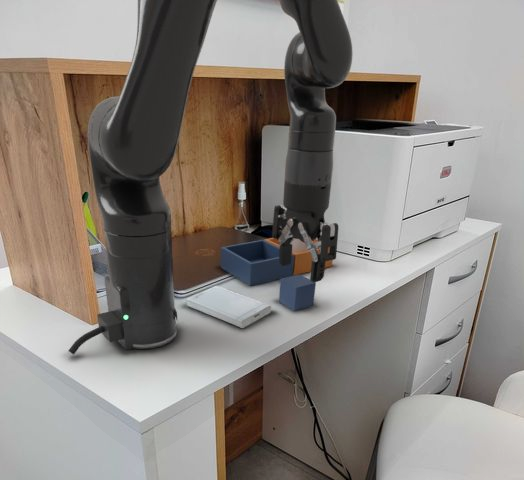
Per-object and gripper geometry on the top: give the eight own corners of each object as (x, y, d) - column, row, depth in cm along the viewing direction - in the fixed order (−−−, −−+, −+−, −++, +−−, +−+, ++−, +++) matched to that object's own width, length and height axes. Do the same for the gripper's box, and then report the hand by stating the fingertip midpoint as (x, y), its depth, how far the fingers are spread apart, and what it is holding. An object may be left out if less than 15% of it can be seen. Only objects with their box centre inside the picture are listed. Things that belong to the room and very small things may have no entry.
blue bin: (250, 285, 96) (250, 264, 94) (220, 267, 103) (221, 247, 101) (292, 275, 102) (294, 254, 99) (262, 259, 109) (263, 239, 107)
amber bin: (293, 275, 102) (295, 254, 100) (263, 259, 109) (264, 239, 107) (331, 266, 108) (334, 246, 105) (300, 251, 115) (302, 232, 112)
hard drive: (186, 298, 86) (241, 320, 80) (217, 284, 92) (271, 304, 86) (186, 307, 87) (241, 329, 81) (217, 292, 93) (271, 312, 87)
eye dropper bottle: (293, 254, 111) (298, 200, 105) (313, 261, 108) (320, 206, 102) (281, 259, 108) (285, 204, 102) (302, 266, 105) (307, 209, 99)
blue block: (294, 311, 88) (296, 287, 85) (278, 301, 91) (280, 278, 88) (313, 305, 90) (315, 282, 88) (297, 296, 93) (299, 274, 91)
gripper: (263, 171, 82) (259, 263, 90) (320, 190, 72) (310, 291, 81) (297, 167, 86) (291, 256, 94) (356, 185, 76) (343, 282, 85)
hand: (300, 272), depth 88 cm, fingers open, 8 cm apart
